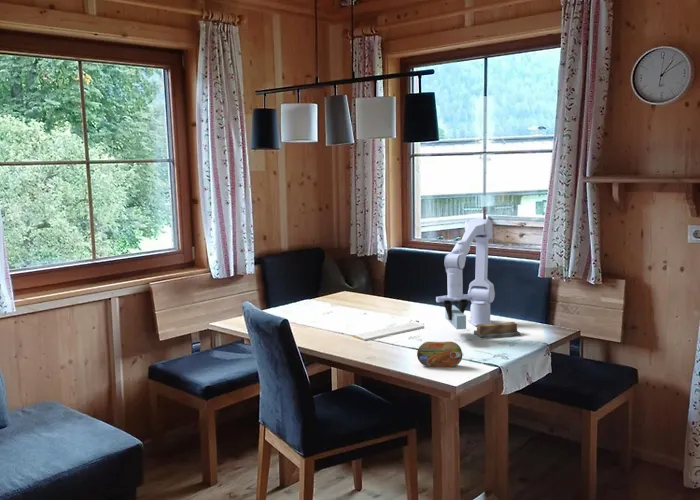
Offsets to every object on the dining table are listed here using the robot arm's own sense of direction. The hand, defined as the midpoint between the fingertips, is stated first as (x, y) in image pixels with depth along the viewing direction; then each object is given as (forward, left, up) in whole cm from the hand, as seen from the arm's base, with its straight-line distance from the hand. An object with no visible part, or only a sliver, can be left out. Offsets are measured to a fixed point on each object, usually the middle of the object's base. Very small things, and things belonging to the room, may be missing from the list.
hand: (455, 319), depth 259 cm
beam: (0, 0, -2) cm, 2 cm away
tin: (+31, -15, -8) cm, 35 cm away
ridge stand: (-1, +17, -8) cm, 19 cm away
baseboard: (-17, -23, -8) cm, 30 cm away
